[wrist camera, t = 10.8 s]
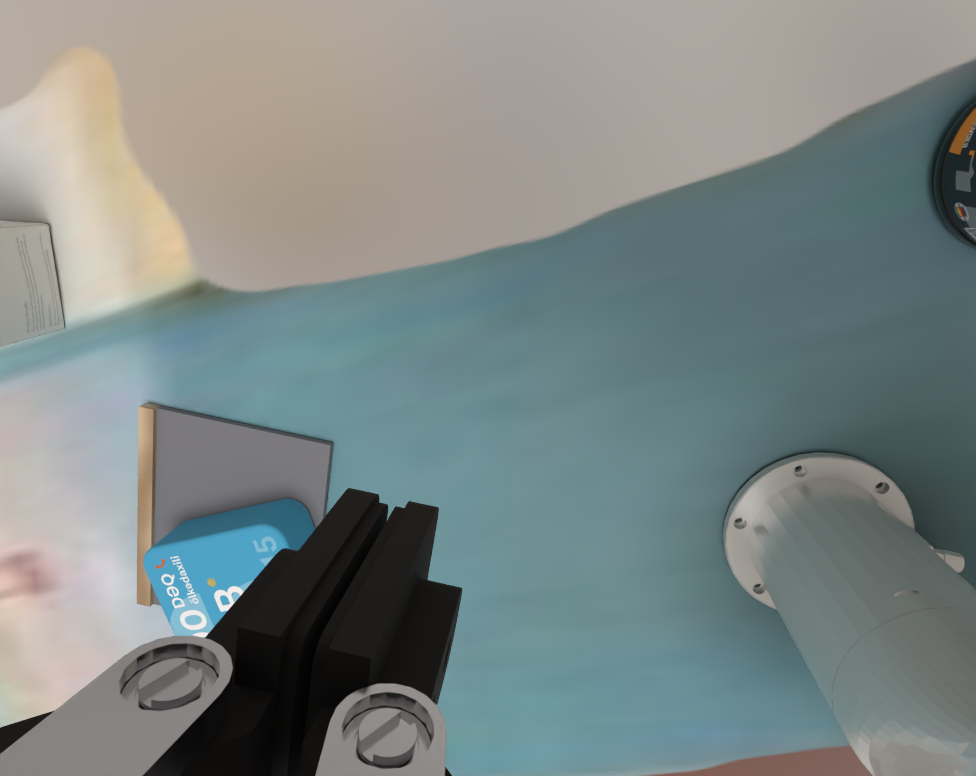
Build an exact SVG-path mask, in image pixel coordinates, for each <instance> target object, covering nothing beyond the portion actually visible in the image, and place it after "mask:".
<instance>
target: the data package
mask: <svg viewBox="0 0 976 776" xmlns="http://www.w3.org/2000/svg"><path fill="white" fill-rule="evenodd" d="M314 530H315V527H314V525H313V522H312V519H311V517H310V514H309V512H308V510H307V509H306V507H305V506H304V505H303V504H301V503H300V502H298V501H296V500H293V499H281V500H276V501H272V502H267V503H263V504H259V505H254V506H250V507H245V508H241V509H236V510H232V511H227V512H223V513H218V514H214V515H209V516H205V517H200V518H196V519H191V520H187V521H184V522H182V523H181V524H180V525H178V526H177V527H176V528H175V529H174V530H172V531H171V532H170V533H169V534H167V535H166V536H165V537H164V538H162V539H161V540H160V541H159V542H157V543H156V544H155V545H154V546H152V547H151V548H150V549H149V550H148V551H147V552H146V554H145V555H144V559H143V566H144V569H145V572H146V574H147V576H148V578H149V580H150V582H151V584H152V587H153V589H154V591H155V593H156V595H157V597H158V600H159V602H160V604H161V606H162V608H163V610H164V613H165V615H166V617H167V619H168V621H169V623H170V625H171V628H172V630H173V632H174V634H175V636H198V637H202V638H205V637H206V636H207V635H208V633H209V632H210V631H211V630H212V629H213V628H214V626H215V625H216V624H217V623H218V622H219V620H220V619H221V618H222V617H223V616H224V615H225V613H226V612H227V611H228V610H229V609H230V608H231V606H232V605H233V604H234V603H235V602H236V600H237V599H238V598H239V597H240V596H241V595H242V593H243V592H244V591H245V590H246V589H247V588H248V586H249V585H250V584H251V583H252V582H253V580H254V579H255V578H256V577H257V576H258V575H259V573H260V572H261V571H262V570H263V569H264V568H265V566H266V565H267V564H268V563H269V562H270V560H271V559H272V558H273V557H274V556H275V555H276V553H278V552H279V551H280V550H281V549H284V548H287V549H292V550H296V551H298V550H299V549H300V548H301V547H302V545H303V544H304V543H305V542H306V540H307V539H308V538H309V536H310V535H311V534H312V533H313V531H314Z"/></svg>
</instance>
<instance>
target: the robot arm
mask: <svg viewBox="0 0 976 776" xmlns="http://www.w3.org/2000/svg"><path fill="white" fill-rule="evenodd" d="M797 466H799V468H798V469H795V468H796V467H797ZM877 484H878V485H877ZM438 511H439V509H438V507H434V506H429V505H425V504H420V503H415V502H411V501H409V502H408V503H407V505H406V507H405V508H401V507H395V508H394V510H393V512H392V513H391V515H390V517H389V518H388V520H387V514H388V505H387V504H383V503H379V495H378V494H374V493H370V492H365V491H360V490H356V489H351V488H348V489H347V490H346V491H345V492H344V494H343V495H342V496H341V497H340V499H339V500H338V501H337V502H336V504H335V505H334V506H333V507H332V509H331V510H330V511H329V512H328V514H327V515H326V516H325V518H324V519H323V520H322V521H321V523H320V524H319V525H318V526H317V528H316V529H315V530H314V531H313V533H312V534H311V535H310V536H309V538H308V539H307V540H306V542H305V543H304V544H303V545H302V547H301V548H300V549H299V550H298V551H296V550H292V549H287V548H284V549H281V550H280V551H279V552H278V553H276V555H275V556H274V557H273V558H272V559H271V560H270V562H269V563H268V564H267V565H266V566H265V568H264V569H263V570H262V571H261V572H260V573H259V575H258V576H257V577H256V578H255V579H254V580H253V582H252V583H251V584H250V585H249V586H248V588H247V589H246V590H245V591H244V592H243V593H242V595H241V596H240V597H239V598H238V599H237V600H236V602H235V603H234V604H233V605H232V606H231V608H230V609H229V610H228V611H227V612H226V613H225V615H224V616H223V617H222V618H221V619H220V620H219V622H218V623H217V624H216V625H215V626H214V628H213V629H212V630H211V631H210V632H209V633H208V635H207V636H206V637H205V638H202V637H198V636H172V637H167V638H162V639H157V640H155V641H152V642H149V643H147V644H144V645H142V646H139V647H138V648H136V649H135V650H133V651H131V652H130V653H128V654H127V655H125V656H124V657H122V658H121V659H120V660H118V661H117V662H116V663H115V664H113V665H112V666H111V667H110V668H108V669H107V670H106V671H105V672H103V673H102V674H101V675H99V676H98V677H97V678H96V679H94V680H93V681H92V682H91V683H89V684H88V685H87V686H86V687H84V688H83V689H82V690H80V691H79V692H78V693H77V694H75V695H74V696H73V697H72V698H70V699H69V700H68V701H67V702H65V703H64V704H63V705H61V706H60V707H59V708H58V709H56V710H55V711H52V712H49V713H45V714H42V715H39V716H36V717H33V718H29V719H26V720H23V721H20V722H17V723H13V724H10V725H7V726H4V727H1V728H0V776H452V775H451V774H450V773H449V771H448V770H447V768H446V767H445V759H446V737H447V734H446V727H445V720H444V718H443V716H442V714H441V712H440V710H439V708H438V706H437V703H438V699H439V695H440V692H441V688H442V684H443V680H444V676H445V672H446V668H447V664H448V660H449V655H450V651H451V646H452V642H453V637H454V632H455V627H456V622H457V616H458V611H459V606H460V600H461V595H462V588H460V587H455V586H451V585H446V584H442V583H438V582H433V581H429V580H427V578H428V572H429V567H430V561H431V555H432V549H433V543H434V537H435V531H436V525H437V519H438ZM738 518H740V519H739V520H736V519H738ZM386 521H387V522H386ZM914 529H915V524H914V519H913V515H912V510H911V508H910V506H909V504H908V501H907V499H906V497H905V495H904V494H903V493H902V491H901V490H900V489H899V488H898V486H897V485H896V484H895V483H894V482H893V481H892V480H891V479H890V478H888V477H887V476H886V475H885V474H884V473H883V472H881V471H880V470H878V469H877V468H875V467H874V466H872V465H870V464H869V463H867V462H864V461H862V460H859V459H857V458H854V457H852V456H847V455H842V454H837V453H820V452H815V453H808V454H801V455H796V456H793V457H789V458H786V459H783V460H780V461H778V462H776V463H774V464H772V465H770V466H768V467H766V468H764V469H763V470H762V471H760V472H759V473H757V474H756V475H755V476H753V477H752V478H751V479H750V480H749V481H748V482H747V483H746V484H745V485H744V486H743V487H742V488H741V489H740V490H739V492H738V493H737V495H736V496H735V498H734V500H733V501H732V503H731V504H730V507H729V509H728V512H727V515H726V517H725V521H724V528H723V548H724V551H725V555H726V558H727V561H728V564H729V566H730V568H731V570H732V572H733V574H734V576H735V577H736V579H737V580H738V581H739V583H740V584H741V586H742V587H743V588H744V589H745V590H746V591H747V592H748V593H749V594H750V595H751V596H752V597H754V598H755V599H757V600H759V601H760V602H762V603H763V604H765V605H766V606H769V607H771V608H774V609H776V610H778V612H779V614H780V616H781V618H782V620H783V621H784V623H785V625H786V627H787V629H788V631H789V633H790V634H791V636H792V638H793V640H794V642H795V644H796V646H797V648H798V649H799V651H800V653H801V655H802V657H803V659H804V661H805V662H806V664H807V666H808V668H809V670H810V672H811V674H812V676H813V677H814V679H815V681H816V683H817V685H818V687H819V689H820V690H821V692H822V694H823V696H824V698H825V700H826V702H827V704H828V705H829V707H830V709H831V711H832V713H833V715H834V717H835V718H836V720H837V722H838V724H839V725H840V727H841V729H842V731H843V733H844V735H845V736H846V738H847V740H848V742H849V744H850V745H851V747H852V749H853V750H854V752H855V753H856V755H857V756H858V758H859V759H860V761H861V762H862V763H863V764H864V766H865V767H866V768H867V769H868V770H869V771H870V773H871V774H872V775H873V776H976V589H975V588H974V587H972V586H971V585H970V584H969V583H968V582H967V581H966V580H965V579H964V578H963V577H962V576H960V575H959V574H958V573H960V572H961V571H962V570H963V569H964V564H965V562H964V557H963V556H962V554H960V553H957V552H953V551H948V550H943V549H934V548H933V547H932V546H931V545H930V544H929V543H928V542H927V541H926V540H925V539H924V538H922V537H921V536H920V535H919V534H918V533H917V532H916V531H915V530H914Z"/></svg>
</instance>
